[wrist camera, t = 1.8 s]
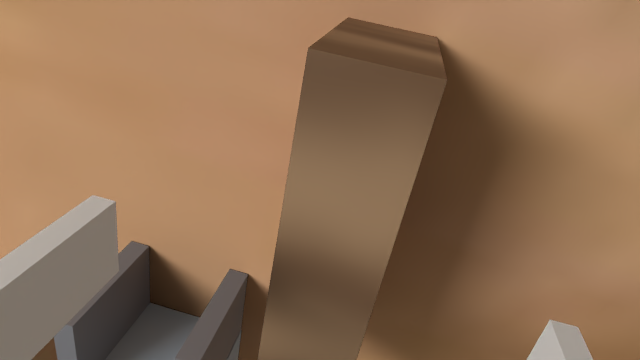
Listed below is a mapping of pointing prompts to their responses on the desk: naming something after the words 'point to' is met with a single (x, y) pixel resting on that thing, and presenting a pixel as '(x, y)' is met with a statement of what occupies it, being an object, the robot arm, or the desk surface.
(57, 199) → the desk surface
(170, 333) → the gray block with ears
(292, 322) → the rail
